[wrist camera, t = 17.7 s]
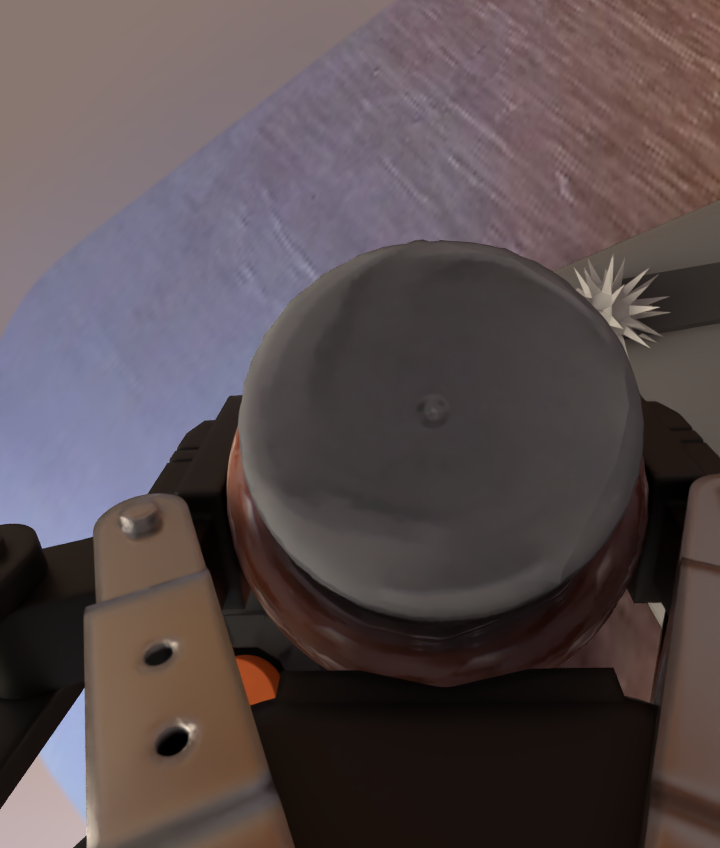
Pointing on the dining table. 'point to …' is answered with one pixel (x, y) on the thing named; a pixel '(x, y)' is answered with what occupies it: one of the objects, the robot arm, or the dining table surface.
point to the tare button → (258, 678)
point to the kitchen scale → (264, 638)
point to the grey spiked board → (665, 314)
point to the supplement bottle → (439, 466)
